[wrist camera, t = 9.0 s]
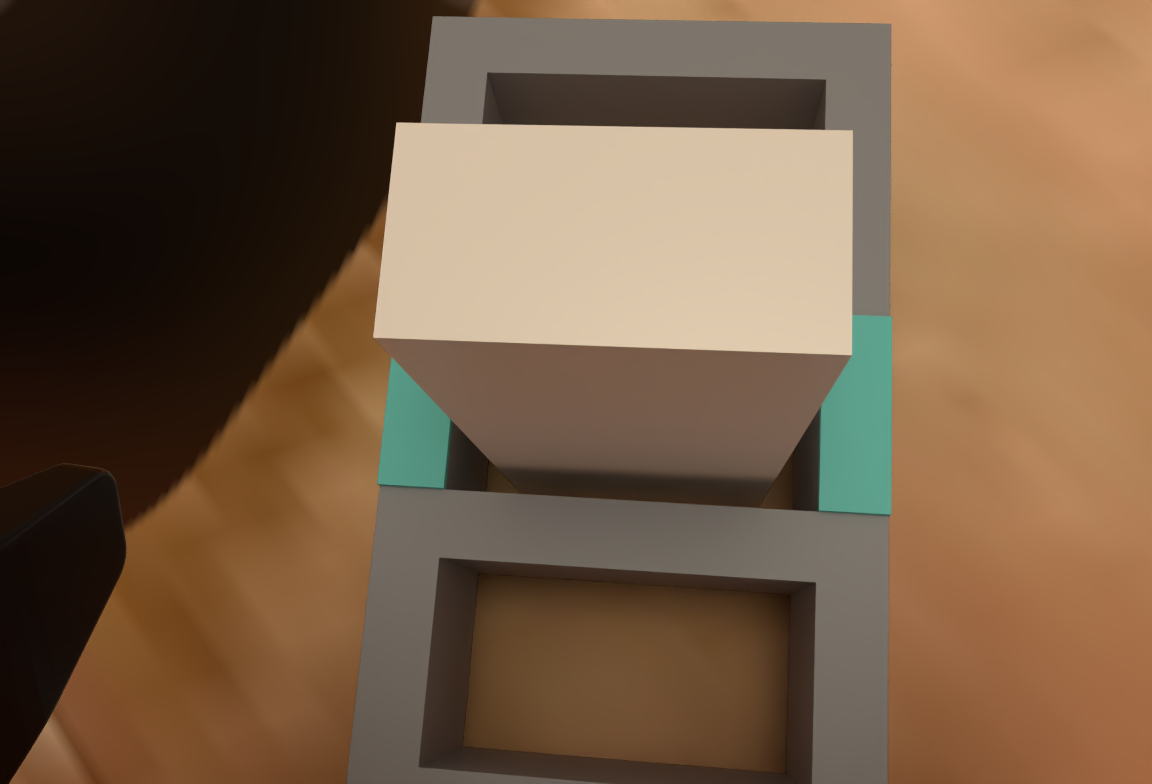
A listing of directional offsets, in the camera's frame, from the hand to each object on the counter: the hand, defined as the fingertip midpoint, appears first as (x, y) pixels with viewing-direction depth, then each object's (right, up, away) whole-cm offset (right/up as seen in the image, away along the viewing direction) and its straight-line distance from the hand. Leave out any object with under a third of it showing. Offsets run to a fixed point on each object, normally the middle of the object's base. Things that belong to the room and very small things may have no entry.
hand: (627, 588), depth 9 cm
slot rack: (+1, +1, +14) cm, 14 cm away
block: (+1, +1, +14) cm, 14 cm away
